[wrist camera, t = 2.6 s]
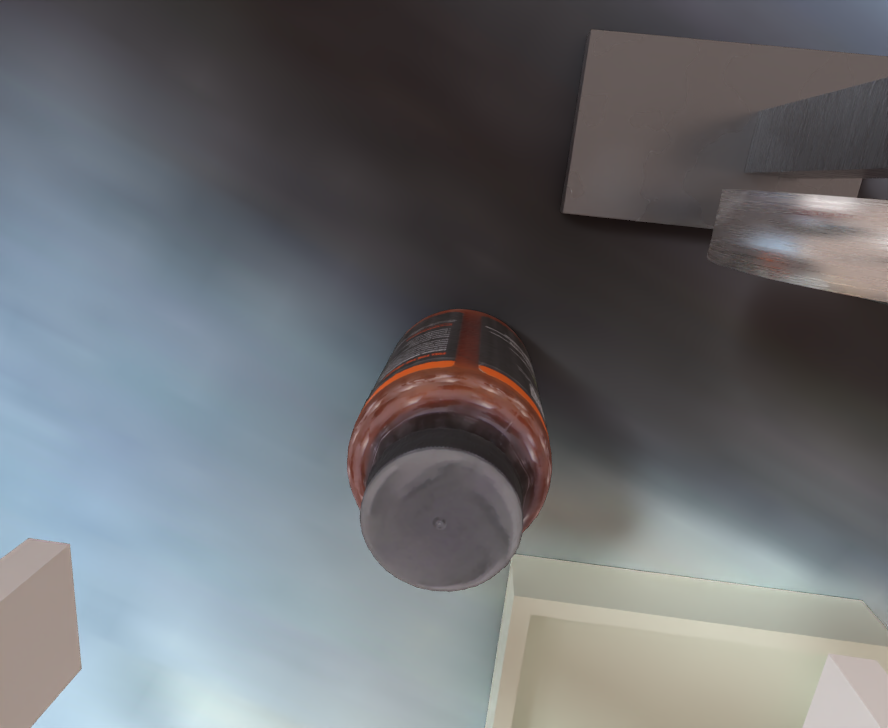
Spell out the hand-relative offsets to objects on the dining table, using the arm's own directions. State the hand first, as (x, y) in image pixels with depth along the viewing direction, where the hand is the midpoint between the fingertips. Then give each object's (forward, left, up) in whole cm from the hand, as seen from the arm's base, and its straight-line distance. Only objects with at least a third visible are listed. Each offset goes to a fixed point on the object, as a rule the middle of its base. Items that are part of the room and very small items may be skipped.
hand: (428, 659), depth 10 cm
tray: (+11, -14, -15) cm, 23 cm away
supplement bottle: (0, 0, -16) cm, 16 cm away
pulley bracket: (+8, +10, -15) cm, 20 cm away
